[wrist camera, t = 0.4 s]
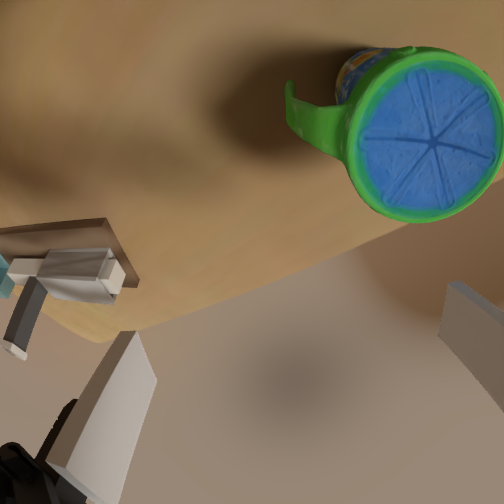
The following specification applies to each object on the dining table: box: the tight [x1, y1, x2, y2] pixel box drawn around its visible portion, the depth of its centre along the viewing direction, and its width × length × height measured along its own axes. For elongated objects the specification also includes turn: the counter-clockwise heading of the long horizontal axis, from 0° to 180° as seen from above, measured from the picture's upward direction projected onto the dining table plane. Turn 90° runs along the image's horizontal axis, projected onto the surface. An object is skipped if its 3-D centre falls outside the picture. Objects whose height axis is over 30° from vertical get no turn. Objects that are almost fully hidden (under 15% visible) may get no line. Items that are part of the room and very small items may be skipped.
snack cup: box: [285, 46, 504, 223], centre depth 14 cm, size 16×10×10 cm
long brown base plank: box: [0, 218, 140, 305], centre depth 33 cm, size 12×34×6 cm, turn 93°
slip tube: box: [0, 259, 126, 361], centre depth 28 cm, size 3×22×14 cm, turn 93°
